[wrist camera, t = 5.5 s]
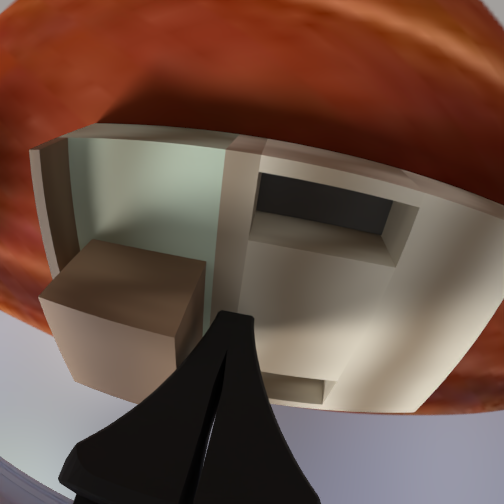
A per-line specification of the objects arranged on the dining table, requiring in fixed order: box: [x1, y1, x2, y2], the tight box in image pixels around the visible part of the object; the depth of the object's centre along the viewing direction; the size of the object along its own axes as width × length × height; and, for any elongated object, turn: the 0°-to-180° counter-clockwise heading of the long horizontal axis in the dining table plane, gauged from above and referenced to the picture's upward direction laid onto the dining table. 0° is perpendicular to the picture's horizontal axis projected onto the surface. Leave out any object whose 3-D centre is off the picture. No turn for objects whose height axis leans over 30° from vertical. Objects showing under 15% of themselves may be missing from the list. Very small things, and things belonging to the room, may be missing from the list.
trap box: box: [29, 123, 504, 412], centre depth 12 cm, size 18×12×4 cm, turn 83°
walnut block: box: [38, 239, 206, 404], centre depth 10 cm, size 4×4×4 cm
